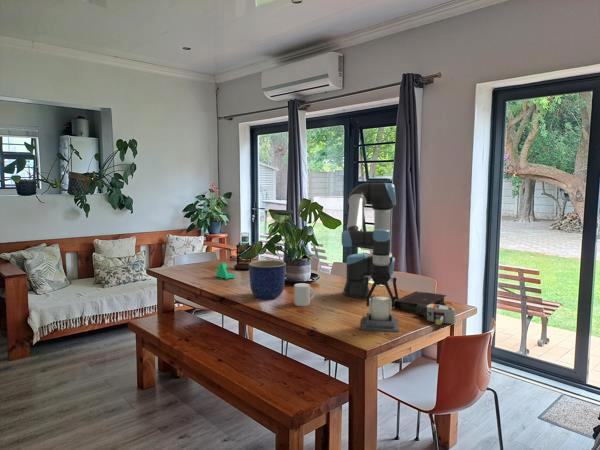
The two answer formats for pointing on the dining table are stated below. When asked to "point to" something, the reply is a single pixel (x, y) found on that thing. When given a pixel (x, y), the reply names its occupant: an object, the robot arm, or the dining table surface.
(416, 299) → the diary
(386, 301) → the plug
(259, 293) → the planter
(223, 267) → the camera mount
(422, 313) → the film camera
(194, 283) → the dining table surface
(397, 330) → the grey square tray
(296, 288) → the mug
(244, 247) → the dark piece
